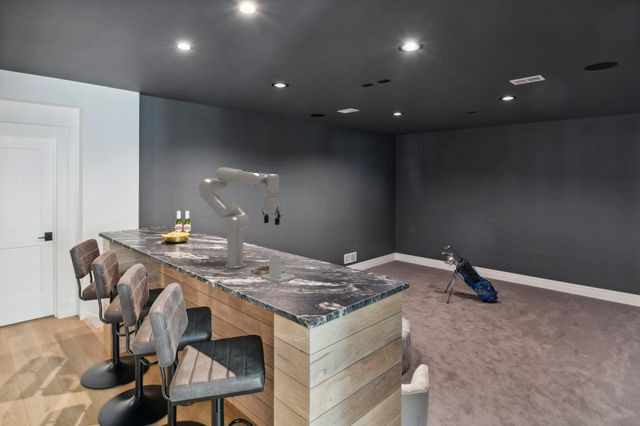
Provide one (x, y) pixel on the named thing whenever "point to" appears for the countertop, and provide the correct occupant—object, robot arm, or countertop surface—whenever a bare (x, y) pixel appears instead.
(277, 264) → the mug
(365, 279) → the countertop surface
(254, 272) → the holder frame
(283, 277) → the tray
